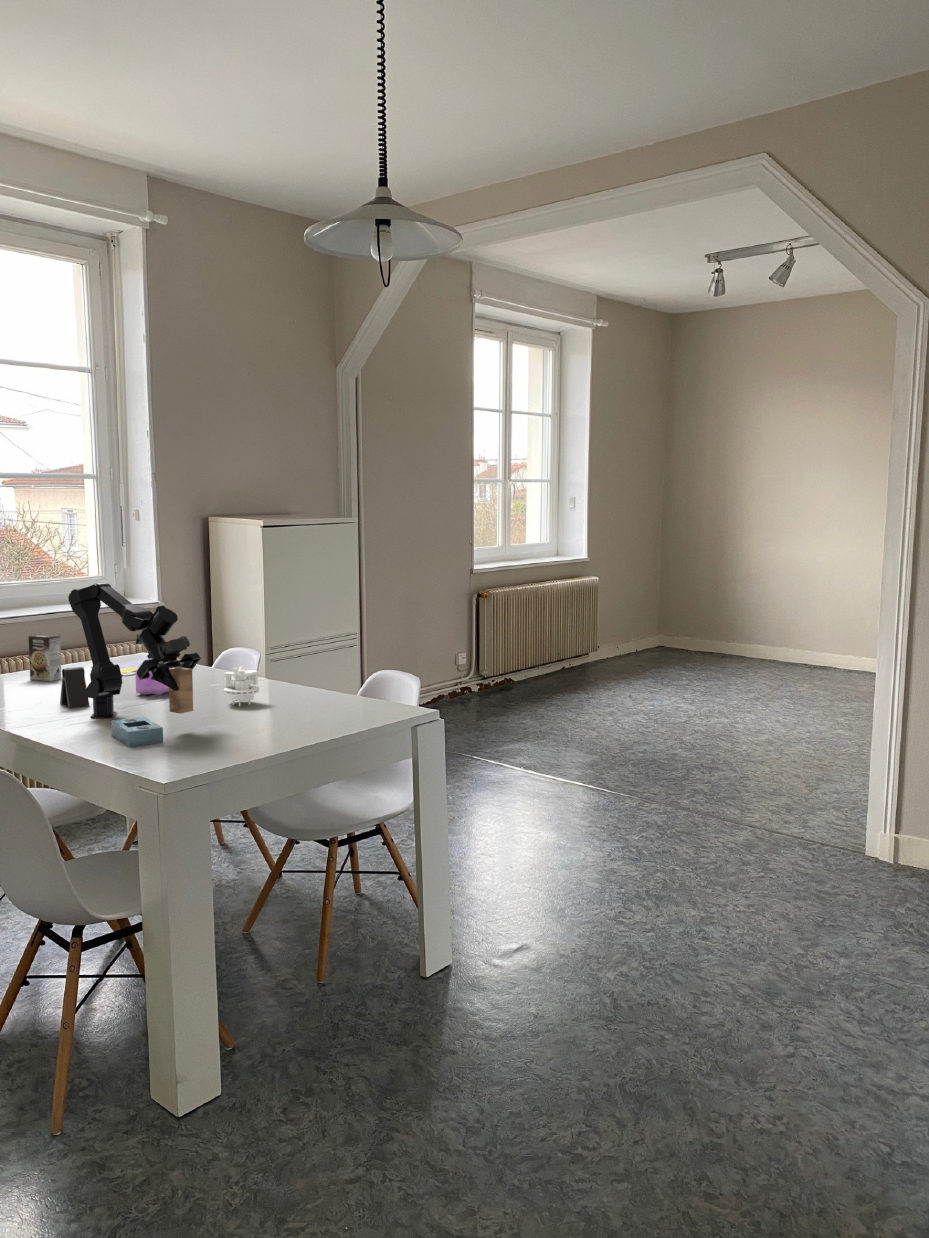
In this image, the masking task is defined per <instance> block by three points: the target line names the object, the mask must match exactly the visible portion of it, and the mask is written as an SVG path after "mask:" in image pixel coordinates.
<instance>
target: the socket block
mask: <svg viewBox="0 0 929 1238" xmlns="http://www.w3.org/2000/svg"><path fill="white" fill-rule="evenodd" d="M110 722H111V735H112V736H113V737H114V738H116V739H117V740H118V741H120V742H121V743H123V744H124V745H126V747H129V748H130V747H138V746H145V745H152V744H160V743H164V728H163V727H162V726H161V725H159V724H157V723H156V722H154V721H153V720H151V719H149V718H148V717H145V716H138V717H131V718H130V717H129V718H128V717H127V718H121V719H114V720H111V721H110Z"/></svg>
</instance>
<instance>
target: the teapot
mask: <svg viewBox="0 0 929 1238" xmlns="http://www.w3.org/2000/svg"><path fill="white" fill-rule="evenodd" d="M170 669H173V668H170ZM137 670H138V669H137ZM137 670H135V672H134V673H135V674H134V675H135V694H141V695H142V696H148V695H155V696H162V694H165V693H168V692H169V687H168V686H166V685H164V684H162V683H160V682H158V681H156V680H152V679H151V677H152V676H153V675H152V672H151V671H150V672H149V674H150V676H149V678H148V679H142V680H140V678H139V677H138V675H137Z"/></svg>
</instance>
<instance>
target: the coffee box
mask: <svg viewBox="0 0 929 1238" xmlns="http://www.w3.org/2000/svg"><path fill="white" fill-rule="evenodd" d="M61 645H62V644H61V635H54V634H53V635H52V634H41V633H40V634H33V635H29V636H28V653H29V654H28V656H29V657H28V658H29V660H28V661H29V679H30V680H31V681H41V680H42V681H43V682H53V681H56V680H57V681H58V680H62V654H61V653H62V651H61V650H62V649H61V647H62V646H61Z"/></svg>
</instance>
